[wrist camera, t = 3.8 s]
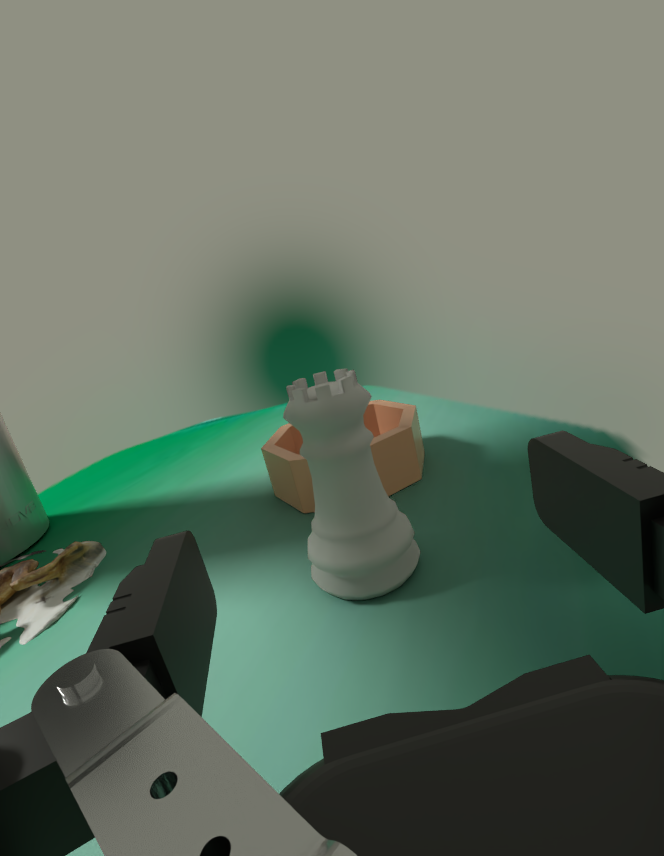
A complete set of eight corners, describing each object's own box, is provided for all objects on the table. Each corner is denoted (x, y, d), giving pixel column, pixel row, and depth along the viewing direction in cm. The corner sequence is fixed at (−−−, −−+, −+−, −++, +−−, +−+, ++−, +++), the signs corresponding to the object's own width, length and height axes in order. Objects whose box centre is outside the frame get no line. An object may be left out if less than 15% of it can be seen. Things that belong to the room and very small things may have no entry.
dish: (260, 517, 27) (244, 466, 26) (303, 454, 35) (292, 413, 34) (418, 501, 25) (407, 445, 24) (426, 437, 32) (418, 393, 31)
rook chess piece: (304, 612, 19) (243, 409, 16) (321, 546, 23) (275, 376, 20) (425, 599, 18) (380, 382, 15) (420, 532, 22) (384, 354, 20)
